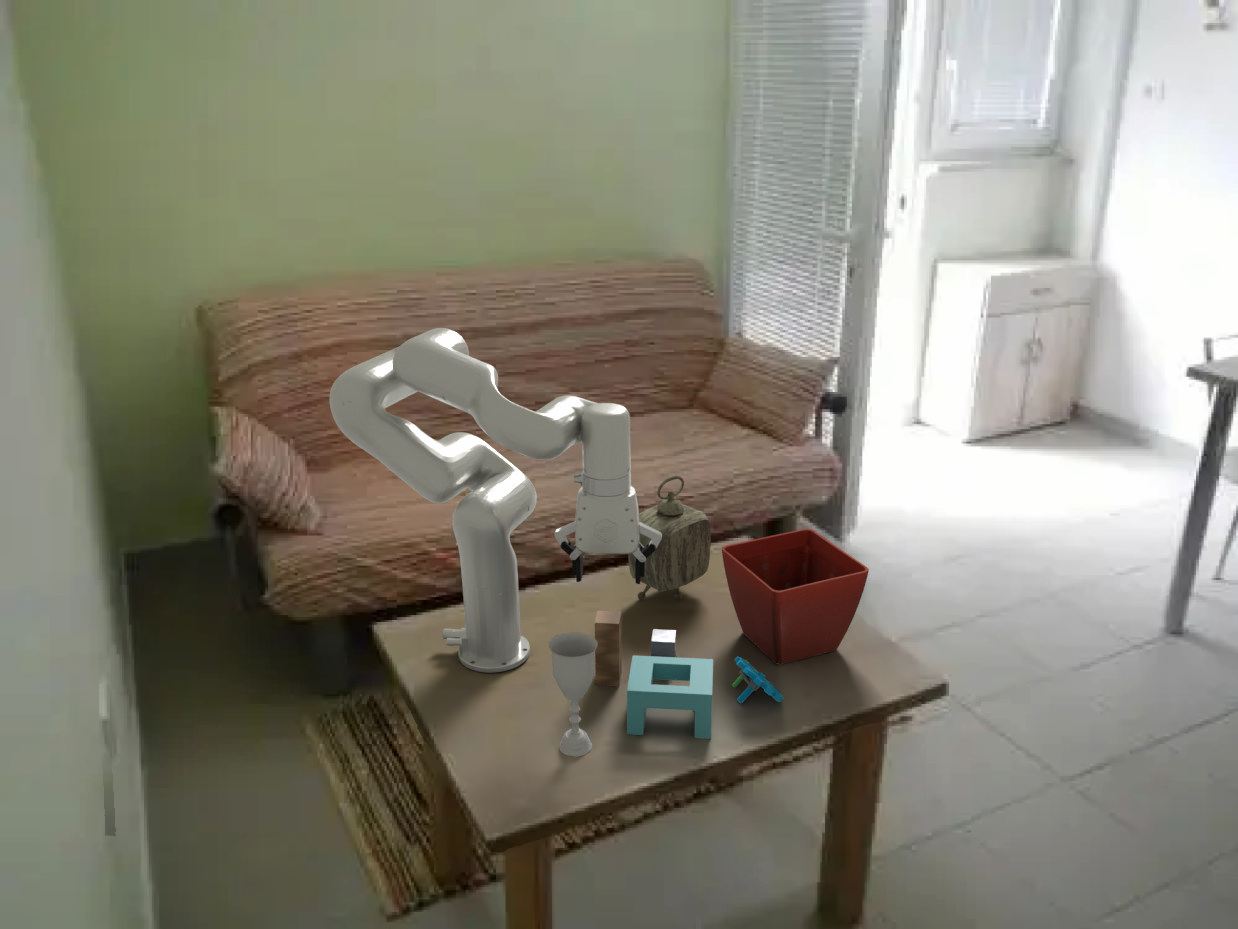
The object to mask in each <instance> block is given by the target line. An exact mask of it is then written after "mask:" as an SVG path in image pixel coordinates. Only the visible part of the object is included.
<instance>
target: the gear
mask: <svg viewBox="0 0 1238 929" xmlns="http://www.w3.org/2000/svg"><path fill="white" fill-rule="evenodd" d="M734 662H735V663H736V665H737V666H738V667H739V668H740V669H741V670H740V671H739V672H738V673H739V674H740V675H739V676H738V677H737V678H736V680H735V681H733V683H732V684H731V686H732V687H734V688H737V686H738V685H739V684H740V683H741V682H742V681H743V680H744V681H745V682H746V684H747V685H748V686H747V687H746V688H745V690H743V692H742V693H741V694H740V695H739V696H738V697H737V698H736V700H737V701H738V703H740V704H743V703H744V702H745V701H746V700H747V698H748V697H749V696H750V695H751V694H752V693H753V692H754V691H755V692H756V691H757V690H758V689H759V688H760V687H761V688H762V689H763V691H764V692H765V693H766V694H767V695H768V696H771V697H772V699H774V700H775V701H776V702H778V703H779V702H780V703H782V702H783V701H784V700H785V697H784V696H783V695H782V693H781V692H780V691H779V690H777V689H776V688H775V685H773V684H772V683H771V682H770V681H768V680H767V679H766V675H765V674H764V673H763V672H761V671H758V670H757V669H755V667H754V666H753V665H751V663H750V662H749V661H748V660H746V659H744V658H742V657H739V656H736V657H735V659H734Z"/></svg>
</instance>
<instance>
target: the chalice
mask: <svg viewBox="0 0 1238 929" xmlns="http://www.w3.org/2000/svg"><path fill="white" fill-rule="evenodd" d="M597 644H598V643H597V641H596V639H595V637H593V636H591V635H589V634H587V633H585V632H584V633H583V632H578V631H577V632H571V631H570V632H565V633H560V634H557V635H555V636H552V637H551V638H550V640H549V641H548V643H547V645H548V649H549V650H550V652H551V656H552V657H551V660H552V661H551V662H552V663H551V665H552V676H553V677H554V680H555V682H556V685H557V686H558V688H559V690H560V691H561V693H562V694H563V696H564V697H565V699H566V700H568V701H570V703H571V704H570V706H569V709H568V711H570V713H571V714H570V715H571V716H570V717H569V718H568V720H569V722H570V724H571V728H570V729H568V730H566V731H565V733H564V734H563V736H562V737H561V741H560V743H558V744H559V746H558V748H559V751H561V753H562V754H563V755H566V756H569V757H581V756H584V755H587V754H588V753H589V752H591V750H592V749H593V743H592V741H591V740H590V736H588V734H587V732H586V731H585V730H584V729H583V728H580V727H579V723H580V722H581V721H582V718H581V717H580V716H579V713H580V711H581V708H580V706H579V704H578V702H579V700H582V699H583V698H584V697H585V695H586V693H587V691H588V689H589V688H590V686H591V684H592V681H593V678H594V676H595V650H596V648H597Z"/></svg>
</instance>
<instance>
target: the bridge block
mask: <svg viewBox="0 0 1238 929" xmlns="http://www.w3.org/2000/svg"><path fill="white" fill-rule="evenodd" d="M631 657H632V658H631V663H630V670H629V676H628V682H627V687H626V688H627V689H626V690H627V691H626V717H627V718H626V722H627V723H626V727H627V728H626V733H627V735H635V736H636V735H638V736H644V731H645V725H646V724H645V723H646V714H647V709H655V710H656V709H657V710H659V709H660V710H674V711H675V710H677V711H692V712H693V711H694V712H695V714H694V715H695V716H694V738H696V739H712V712H713V676H714V675H713V674H714V673H713V672H714V659H713V658H699V657H698V658H697V657H696V658H695V657H656V656H650V655H634V654H633V655H632V656H631ZM654 680H660V681H661V680H665V681H683V682H684V681H685V682H689V685H676V684H675V685H673V684H656V683H655V684H653V683H654Z"/></svg>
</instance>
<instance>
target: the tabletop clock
mask: <svg viewBox="0 0 1238 929" xmlns="http://www.w3.org/2000/svg"><path fill="white" fill-rule="evenodd" d="M674 480H679V481H680V482H681V486H680V487H679V488H678V489H677V490H676V491H675V492H674V491H673V490H669V491H668V492H667V495H661V490H662V488H663V487H664V486H665V485H666V484H667V483H669V482H671V481H674ZM684 487H685V481H684V478H683V477H682V476H679V475H673V476H669V477H667V478H666V479H664V480H663V481H662V482H661V483H660V484H659V486H658V489H657V492H656V493H657V497H658V498H660V499H661V500H660V502H659V503H658V504H655V505H654V506H652V507H649V508H647V509H645V510H644V511H641V512H640V513H639V520H640V522H641V523H643V524H645V525H647V526H649V527H651V528H653V529H655V530H657V531H659V532H661V533H662V539H661V541H660V543H659V544H658V546H657V548H656V550H655V551H654V552H653V553H652V554H651V555H650V556H649V557H648V558H646V560H645V577H641V581H640V583H643V584H644V585H646V586H645V588H644V590H643V591H639V592H638V593H637V599H638V600H640V601H643V600H645V599H646V598H647V596H646V593H647V592H648V591H649V589H651V588H653V589H655V590H657V591H658V592H665V591H666V592H667V591H671V590H675V592H674V594H673V596H674V599H676V600H678V601H680V600H682V598H683V592H681V591H680V589H679V588H681V587H683V586H686V585H688V584H690V583H692V582H694V581H695V580H698V579H699V578H700V577H702V576H704V575H705V574H706V572H707V571H708V569H709V566H710V559H711V542H712V539H711V524H710V521H709V519H708V517H707V515H706V513H705V512H703V511H701V510H698V509H697V508H696V509H695V508H694V507H691V506H689V505H686V504H683V503H682V502H681V501H680V499H679V498H676V496H678V495H679V494H680V493H682V491H683V489H684ZM650 541H651V538H649V537H647V536H645V535H643V534H641V533H640V538H639V542H640V543H641V544H642V545H643V546H644V547H645V546H646V545H647V544H648V543H649V542H650ZM627 555H628V556H627V557H628V568H629V573H630V576H631V578H632V579H633V580H635V562H636V557H635V556H634V555H633V553H630V554H627Z"/></svg>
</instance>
